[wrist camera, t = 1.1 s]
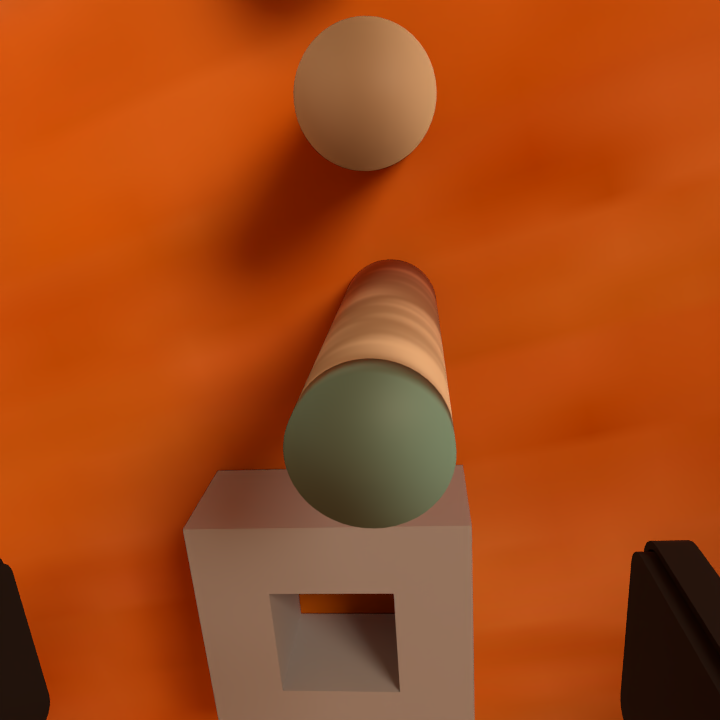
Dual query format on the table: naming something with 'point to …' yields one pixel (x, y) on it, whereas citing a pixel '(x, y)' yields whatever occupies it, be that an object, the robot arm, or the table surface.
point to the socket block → (331, 631)
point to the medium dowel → (365, 93)
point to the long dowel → (376, 406)
